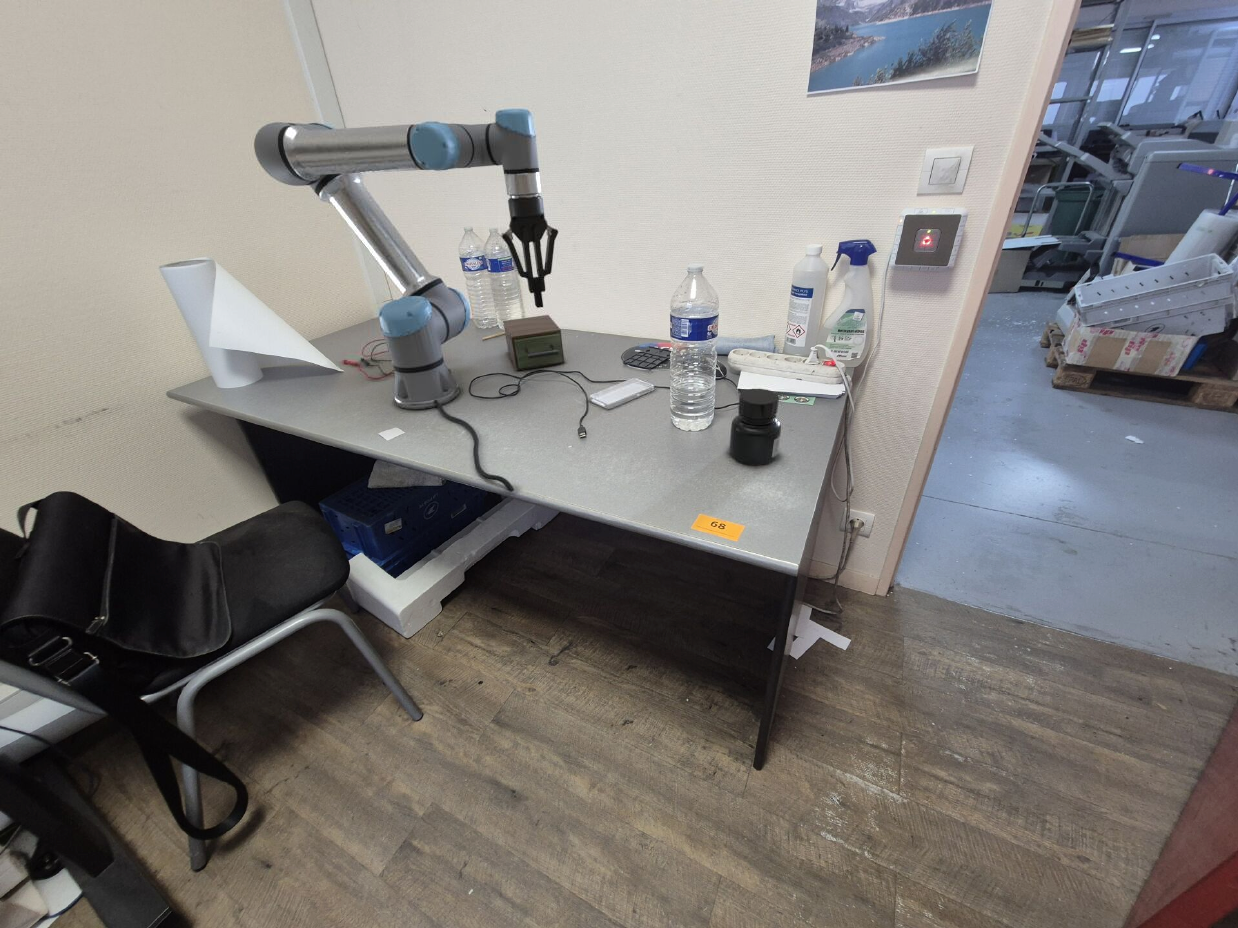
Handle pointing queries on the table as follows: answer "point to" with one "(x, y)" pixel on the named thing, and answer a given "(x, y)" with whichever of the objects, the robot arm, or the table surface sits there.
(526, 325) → the cabinet
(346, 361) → the multimeter test leads
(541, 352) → the drawer
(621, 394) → the phone case
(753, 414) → the ink bottle
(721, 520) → the table surface
